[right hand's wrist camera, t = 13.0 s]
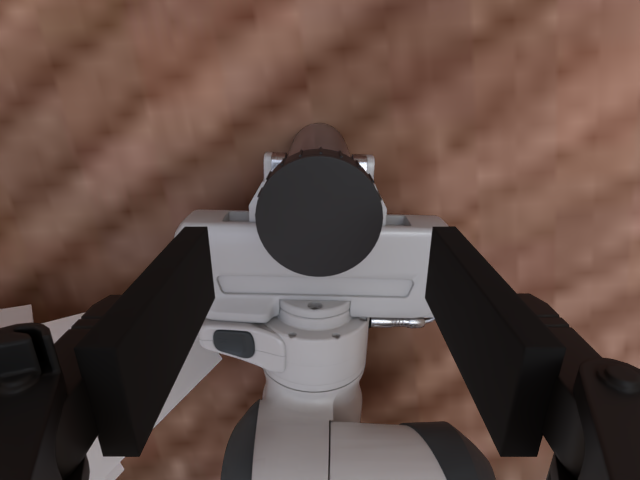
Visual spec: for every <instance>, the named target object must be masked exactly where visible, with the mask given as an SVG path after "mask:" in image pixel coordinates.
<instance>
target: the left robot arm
mask: <svg viewBox="0 0 640 480" xmlns="http://www.w3.org/2000/svg"><path fill="white" fill-rule="evenodd" d="M283 158H285V159H286V158H287V153H285V152H266V153H265V154H264V179H263V181H262V183H261V185H260V186H259V188H258V190H257V192H256V193H255V195H254V197H253V199H252V201H251V202H250V204H249V211H240V210H202V209H200V210H194V211H193V212H191V213H190V214H189V215H188V216H187V217H186V218H185V219H184V220H183V221H182V222H181V224H180V225H179V226H178V228H177V230H176V232H175V236H174V238H175V237H176V236H177V234H178V233H179V232H180V231H181V230H182V229H183V228H184V227H208V236H209V245H210V254H211V263H212V273H213V282H214V291H215V300H214V302H213V304H212V306H211V308H210V310H209V312H208V314H207V316H206V318H205V320H204V323H203V325H202V327H201V329H200V331H199V333H198V336H199V342H200V344H201V346H202V347H204V348H205V349H207V350H210V351H213V352H217V353H220V354H224V355H228V356H231V357H234V358H237V359H241V360H244V361H246V362H249V363H252V364H255V365H257V366H259V367H262V368H263V370H264V373H265V377H266V384H265V387H264V390H263V397H262V400H260V399H259V400H258V401H256V402H255V403H254V404H253V405H252V406H251V407H250V409H249V410H248V411H247V412H246V413H245V415H244V416H243V417H242V418H241V420H240V421H239V422H238V423H237V425H236V426H235V428H234V430H233V432H232V434H231V436H230V439H229V441H228V444H227V448H226V451H225V456H224V460H223V466H222V473H221V480H496V479H495V475H494V472H493V469H492V467H491V465H490V463H489V461H488V460H487V458H486V457H485V456H484V455H483V454H482V452H481V451H480V450H479V449H478V448H477V447H476V446H475V445H474V444H473V443H472V442H471V441H470V440H469V439H468V438H466V437H465V436H464V435H463V434H462V433H461V432H460V431H458V430H457V429H456V428H454V427H453V426H452V425H451V424H449V423H447V422H444V421H442V422H418V423H401V424H399V425H392V424H373V423H360V419H361V411H362V392H361V388H360V385H359V381H360V379H361V377H362V375H363V372H364V369H365V364H366V353H367V342H368V328H370V327H379V328H390V327H407V328H422V327H424V325H425V323H430V322H432V321H434V320H435V318H434V316H433V314H432V312H431V310H430V308H429V306H428V304H427V302H426V300H425V291H426V282H427V273H428V263H429V254H430V245H431V236H432V227H449V226H448V225H447V224H446V223H445V222H444V221H443V220H442V219H441V218H440V217H439V216H434V215H397V214H387V208H386V206H385V204H384V202H383V200H381V203H382V208H383V224H382V230H381V233H380V236H379V239H378V241H377V243H376V245H375V247H374V248H373V250H372V251H371V252H370V254H369V255H368V256H367V257H366V258H365V259H364V260H363V261H362V262H361V263H359V264H358V265H356V266H355V267H353V268H352V269H350V270H348V271H346V272H343V273H340V274H337V275H333V276H326V277H312V276H306V275H301V274H298V273H295V272H293V271H291V270H289V269H287V268H285V267H283V266H282V265H280V264H279V263H278V262H277V261H276V260H274V259H273V258H272V257H271V256H270V254H269V253H268V252H267V251H266V249H265V248H264V246H263V244H262V242H261V240H260V238H259V235H258V232H257V228H256V221H255V212H256V205H257V200H258V197H257V196H258V193H259V192H260V190H261V188H262V187H263V186H264V184H265V182H266V178H267V176H268V174H269V172H270V171H273V170H274V169H275V167H276V166H277V165H278V164H279V163H281V161H282V159H283ZM351 158H352V159H354V160H355V161H356V159H357V160H358V161H359V164H360V165H361V166H362V167H363V168H364V169H365V171H366V172H367V173H368V174H369V173H370V175H371V176H372V178H373V179H374V166H375V160H374V156H373V155H365V154H352V156H351ZM373 184H374V183H373ZM374 186H375V184H374ZM375 188H376V186H375ZM376 190H377V188H376ZM424 317H426V318H424Z"/></svg>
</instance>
